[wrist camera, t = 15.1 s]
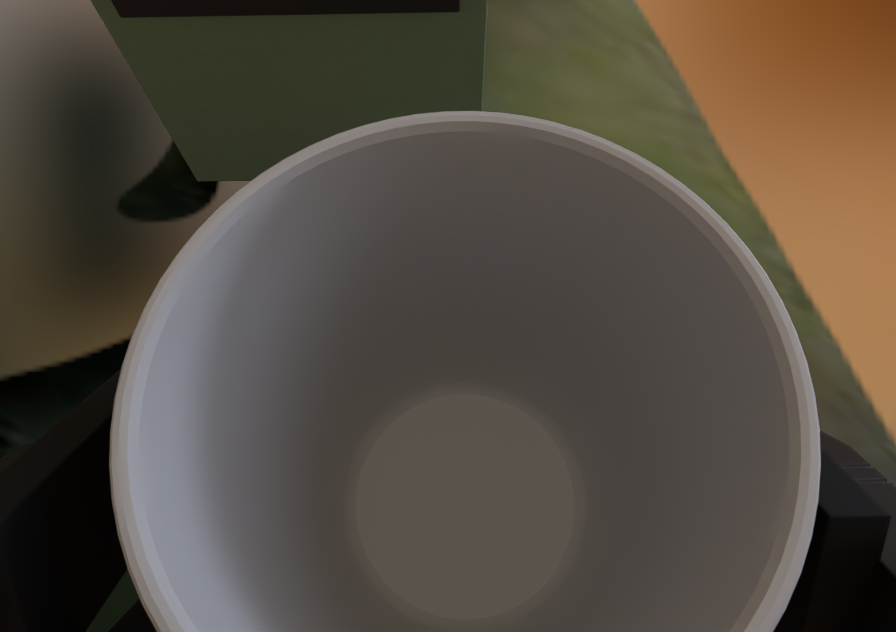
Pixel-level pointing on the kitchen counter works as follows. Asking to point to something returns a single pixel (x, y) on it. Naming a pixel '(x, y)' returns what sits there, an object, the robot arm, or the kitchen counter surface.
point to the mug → (464, 399)
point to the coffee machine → (294, 70)
